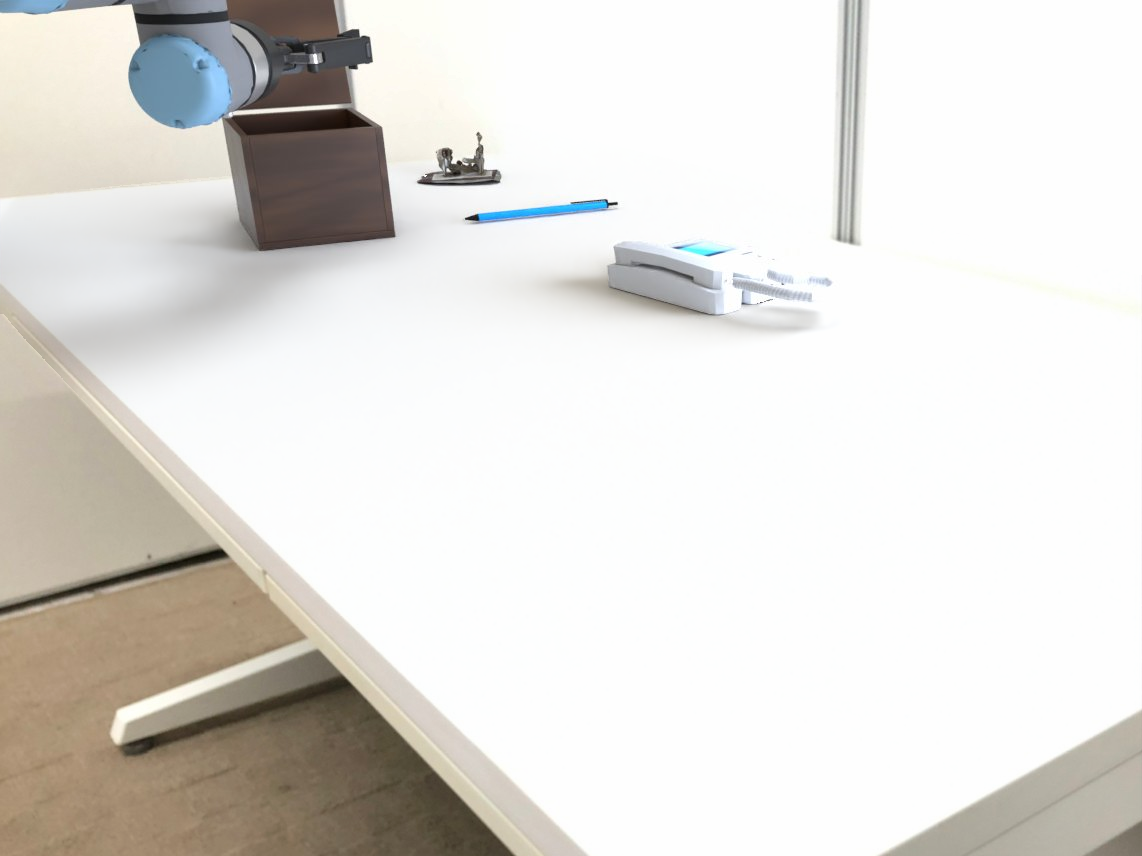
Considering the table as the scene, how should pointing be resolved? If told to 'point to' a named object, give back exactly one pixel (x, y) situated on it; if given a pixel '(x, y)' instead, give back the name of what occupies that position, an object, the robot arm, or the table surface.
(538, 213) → the pen
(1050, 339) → the table surface
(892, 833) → the table surface
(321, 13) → the box lid
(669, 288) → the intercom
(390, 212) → the box
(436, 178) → the pewter figure scene
